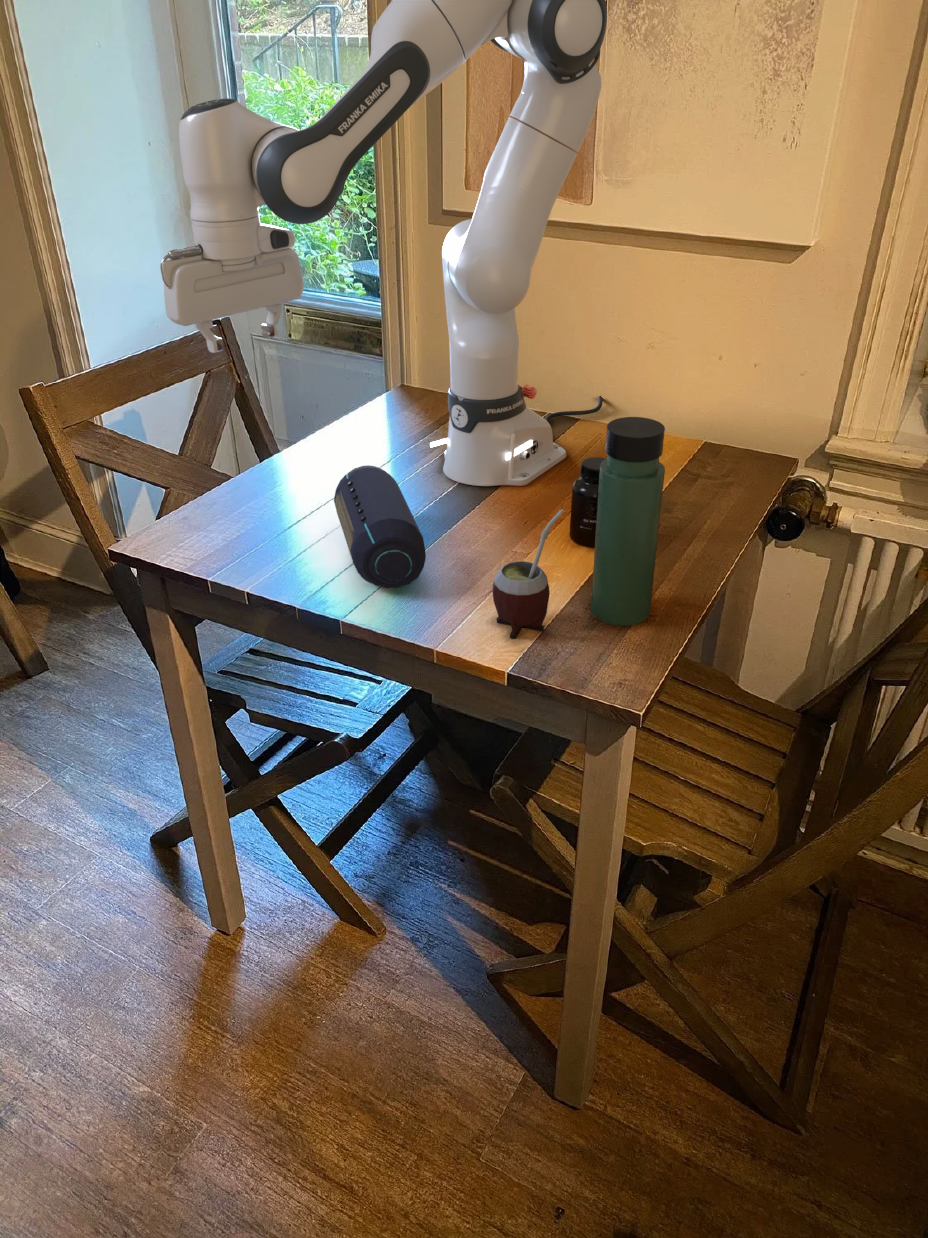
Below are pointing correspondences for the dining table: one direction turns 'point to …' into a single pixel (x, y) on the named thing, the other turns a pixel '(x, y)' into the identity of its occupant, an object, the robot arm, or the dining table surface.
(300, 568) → the dining table surface
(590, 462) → the supplement bottle
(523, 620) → the mate gourd
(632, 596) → the thermos
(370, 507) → the portable speaker
